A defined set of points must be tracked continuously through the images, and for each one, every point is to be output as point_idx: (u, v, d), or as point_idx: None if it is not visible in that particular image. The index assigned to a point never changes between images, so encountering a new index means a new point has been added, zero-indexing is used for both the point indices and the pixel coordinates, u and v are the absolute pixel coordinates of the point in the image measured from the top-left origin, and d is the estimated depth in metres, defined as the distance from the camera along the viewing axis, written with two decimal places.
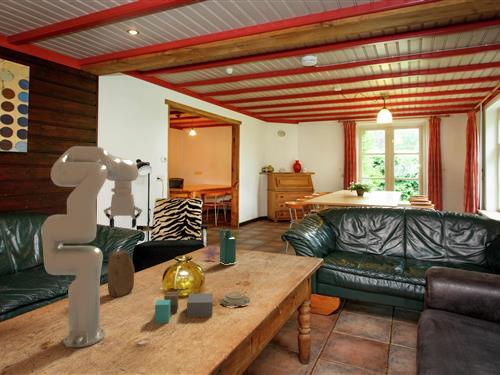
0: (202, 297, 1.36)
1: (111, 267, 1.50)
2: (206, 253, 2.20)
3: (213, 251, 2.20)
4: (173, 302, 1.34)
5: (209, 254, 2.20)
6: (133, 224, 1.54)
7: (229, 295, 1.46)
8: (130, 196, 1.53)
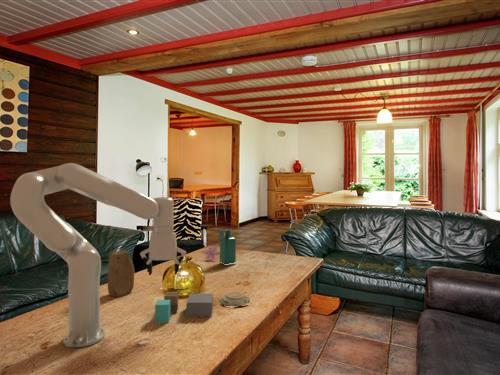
0: (202, 297, 1.36)
1: (111, 267, 1.50)
2: (206, 253, 2.19)
3: (213, 251, 2.20)
4: (173, 302, 1.34)
5: (209, 254, 2.19)
6: (176, 270, 1.26)
7: (229, 295, 1.46)
8: (173, 236, 1.25)
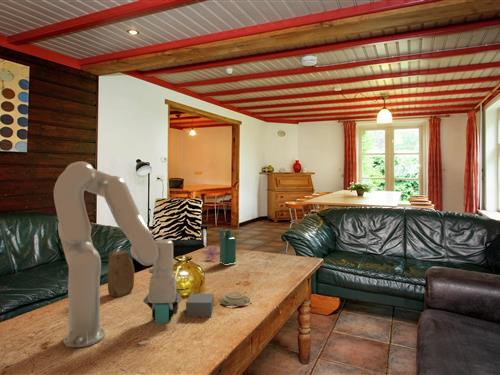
0: (202, 297, 1.36)
1: (111, 267, 1.50)
2: (206, 253, 2.19)
3: (213, 251, 2.20)
4: (173, 302, 1.34)
5: (209, 254, 2.19)
6: (170, 315, 1.26)
7: (229, 295, 1.46)
8: (172, 279, 1.25)
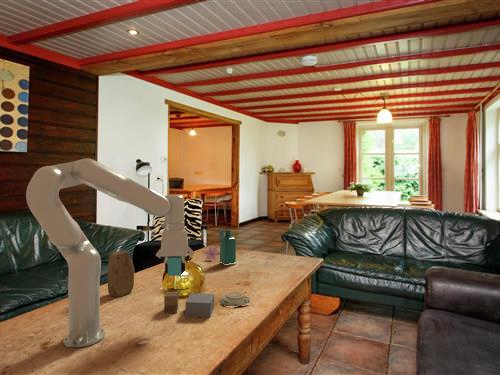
0: (202, 297, 1.36)
1: (111, 267, 1.50)
2: (206, 253, 2.19)
3: (213, 251, 2.19)
4: (173, 302, 1.34)
5: (209, 254, 2.19)
6: (183, 269, 1.28)
7: (229, 295, 1.46)
8: (184, 233, 1.27)
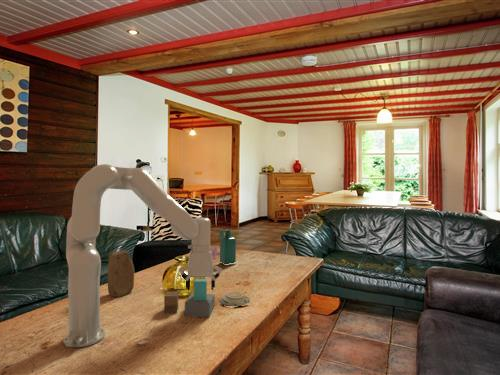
0: None
1: (111, 267, 1.50)
2: None
3: (213, 251, 2.19)
4: (173, 302, 1.34)
5: None
6: (213, 286, 1.34)
7: (229, 295, 1.46)
8: (210, 254, 1.33)
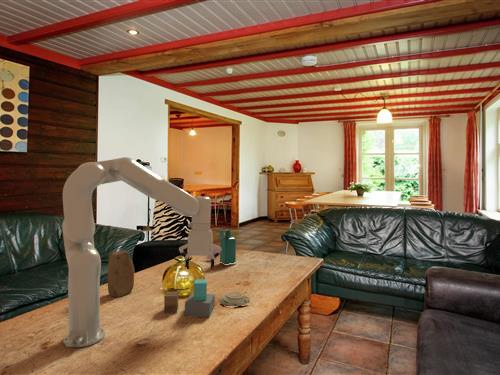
0: None
1: (111, 267, 1.50)
2: None
3: (214, 252, 2.19)
4: (173, 302, 1.34)
5: (209, 255, 2.18)
6: (212, 265, 1.34)
7: (229, 295, 1.46)
8: (210, 233, 1.33)
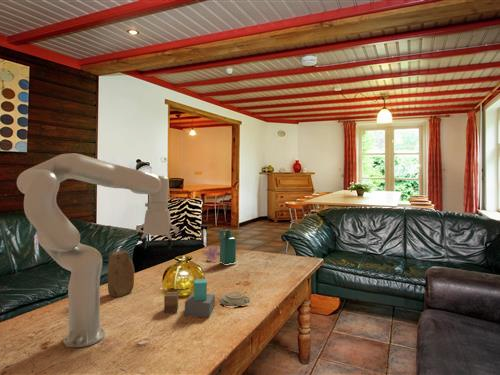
0: None
1: (111, 267, 1.50)
2: (207, 254, 2.18)
3: (214, 252, 2.18)
4: (173, 302, 1.34)
5: (210, 255, 2.18)
6: (169, 245, 1.33)
7: (229, 295, 1.46)
8: (166, 212, 1.32)
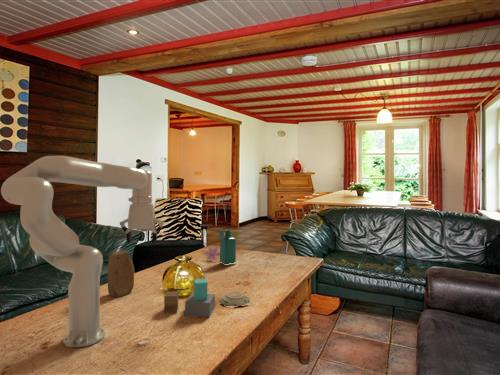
0: None
1: (111, 267, 1.50)
2: (207, 254, 2.17)
3: (214, 252, 2.18)
4: (173, 302, 1.34)
5: (210, 255, 2.17)
6: (154, 239, 1.33)
7: (229, 295, 1.46)
8: (150, 207, 1.32)
